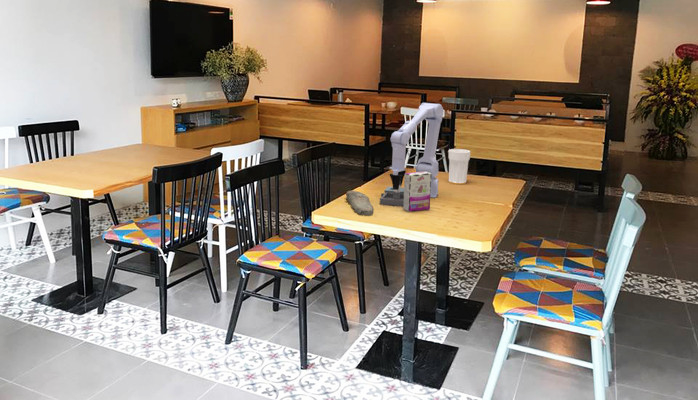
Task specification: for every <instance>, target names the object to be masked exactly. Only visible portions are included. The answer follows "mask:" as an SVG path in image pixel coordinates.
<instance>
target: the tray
mask: <svg viewBox="0 0 698 400" xmlns="http://www.w3.org/2000/svg"><path fill="white" fill-rule="evenodd" d="M384 193H385V192H384ZM379 205H382V206H391V207H401V208H403V207H404V194H400V200H397V199H393V193H387V192H386V193H385V194H384V195H383V196H382V197H381V196H380V198H379Z"/></svg>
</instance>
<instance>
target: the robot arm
mask: <svg viewBox="0 0 698 400" xmlns="http://www.w3.org/2000/svg"><path fill="white" fill-rule="evenodd" d="M443 116H444V108H443V106H442V104H440V103H431V102H422V103H421V104H420V105H419V106H418V111H417V112H416V114H415V115H414V116H413V117H412V118H411V120H406V121H405V122H404V124H403V125H402V126H401V127H400V128H399V129H398V130H397V131H396V130H395V131H394V132H392V133H391V137H390V140H389V141H390V142H391V147H392V158H391V160H392V161H391V166H390V167H389V168H388V169H389V170H392V173H389V177H390V180H391V183H392V187H393V190H398V189H399V184H400V181H401V184H400V187H402V185H403V181H404V178H405V173H407V170H406V152H407V151H406V150H407V149H406V148H407V147H406V145H408V144H409V141H410V139H411V136H412V135H413V134H414V133H415V132H416V131H417V126H418V125H419V124H421V123H422V121H424V120H425V121H426V122H427V123H428V127H427V134H426V138H425V139H426V140H425V144H424V145H425V146H424V150H423V156H422V157H420V158H419V159H418V161H417V164H416V166H415V172H429V173H431V192H430V198H435V199H436V198H437V197H438V194H439V178H438V177H437V176H438V174H439V162H438V160H437V159H436V149H437V146H438V140H439V135H440V134H439V133H440V128H441V123H442V121H443ZM436 177H437V178H436Z"/></svg>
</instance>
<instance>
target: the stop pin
mask: <svg viewBox="0 0 698 400" xmlns="http://www.w3.org/2000/svg"><path fill="white" fill-rule="evenodd" d="M400 184H401V181H400ZM400 184H399V189H398V190H394V192H393V199H397V200H400V187H401V186H400Z"/></svg>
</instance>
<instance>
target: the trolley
mask: <svg viewBox="0 0 698 400" xmlns="http://www.w3.org/2000/svg"><path fill="white" fill-rule="evenodd" d="M386 192H387V193H393V192H394V190H393V186H386V188H384V193H381V194H380V198H381V197H382V196H383V195H384V194H385V193H386ZM400 194H404V187H402V186H400Z"/></svg>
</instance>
